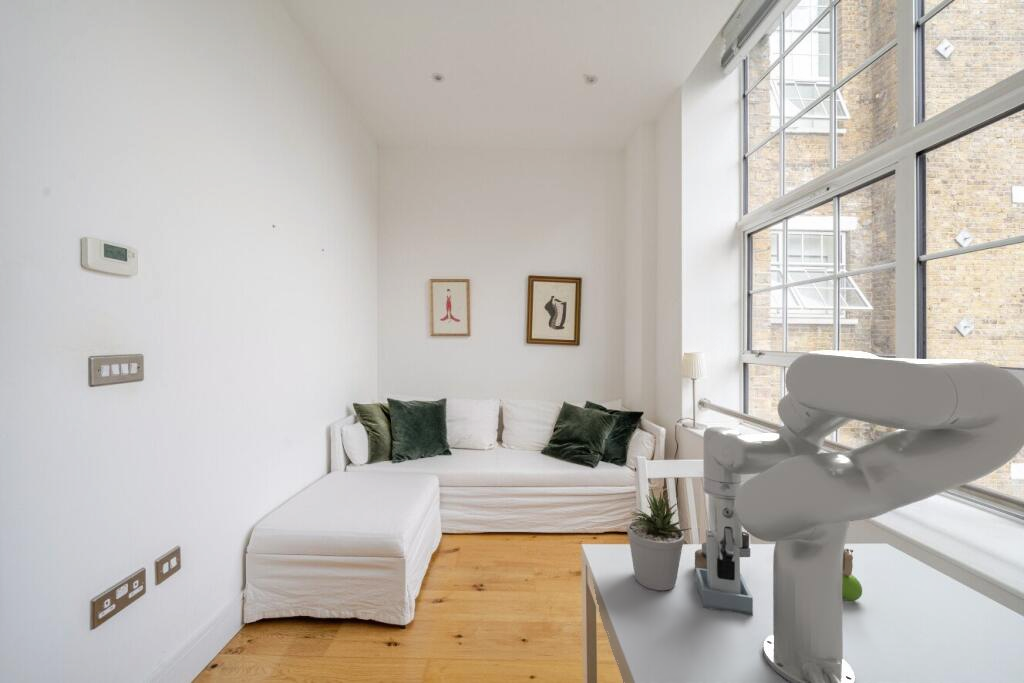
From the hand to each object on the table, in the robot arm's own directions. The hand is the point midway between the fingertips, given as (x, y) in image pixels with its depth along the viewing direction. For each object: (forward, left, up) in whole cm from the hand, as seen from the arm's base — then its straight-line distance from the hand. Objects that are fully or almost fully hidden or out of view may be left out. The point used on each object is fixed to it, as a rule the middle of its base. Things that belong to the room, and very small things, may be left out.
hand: (722, 571), depth 89 cm
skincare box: (0, 0, -5) cm, 5 cm away
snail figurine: (+7, -25, -6) cm, 27 cm away
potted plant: (+3, +13, -6) cm, 15 cm away
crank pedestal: (+10, 0, -6) cm, 12 cm away
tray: (0, 0, -6) cm, 6 cm away
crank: (+11, -3, -2) cm, 12 cm away
